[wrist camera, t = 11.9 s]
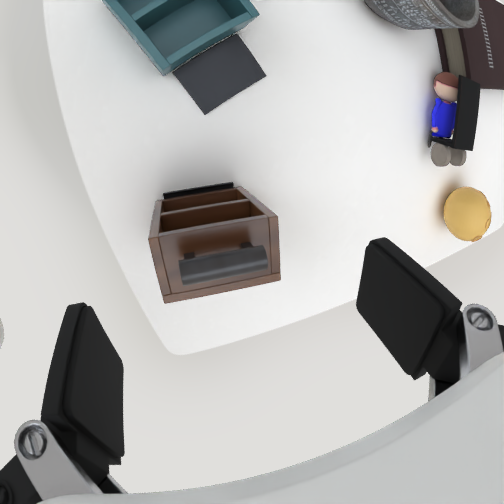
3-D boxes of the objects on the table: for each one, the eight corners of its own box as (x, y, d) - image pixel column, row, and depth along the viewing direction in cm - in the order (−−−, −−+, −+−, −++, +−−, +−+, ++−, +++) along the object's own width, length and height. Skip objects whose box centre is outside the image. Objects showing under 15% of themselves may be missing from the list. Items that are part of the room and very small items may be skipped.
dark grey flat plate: (172, 72, 25) (172, 72, 24) (236, 33, 24) (237, 33, 24) (204, 114, 28) (205, 114, 28) (265, 76, 27) (266, 75, 27)
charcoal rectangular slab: (236, 228, 36) (236, 229, 35) (171, 239, 34) (172, 241, 34) (232, 181, 33) (233, 182, 32) (163, 193, 31) (163, 194, 31)
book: (444, 86, 32) (472, 91, 28) (420, -20, 22) (447, -24, 17) (507, 88, 35) (527, 93, 30) (494, 10, 24) (514, 12, 19)
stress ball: (430, 231, 47) (467, 258, 38) (436, 182, 41) (479, 205, 33) (458, 220, 48) (493, 242, 40) (465, 176, 43) (504, 195, 35)
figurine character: (438, 154, 40) (450, 73, 31) (469, 172, 35) (485, 85, 25) (414, 153, 39) (425, 65, 30) (447, 173, 33) (463, 75, 24)
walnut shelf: (295, 300, 22) (294, 229, 19) (165, 328, 20) (144, 256, 17) (246, 233, 35) (241, 186, 33) (164, 247, 33) (155, 200, 31)
